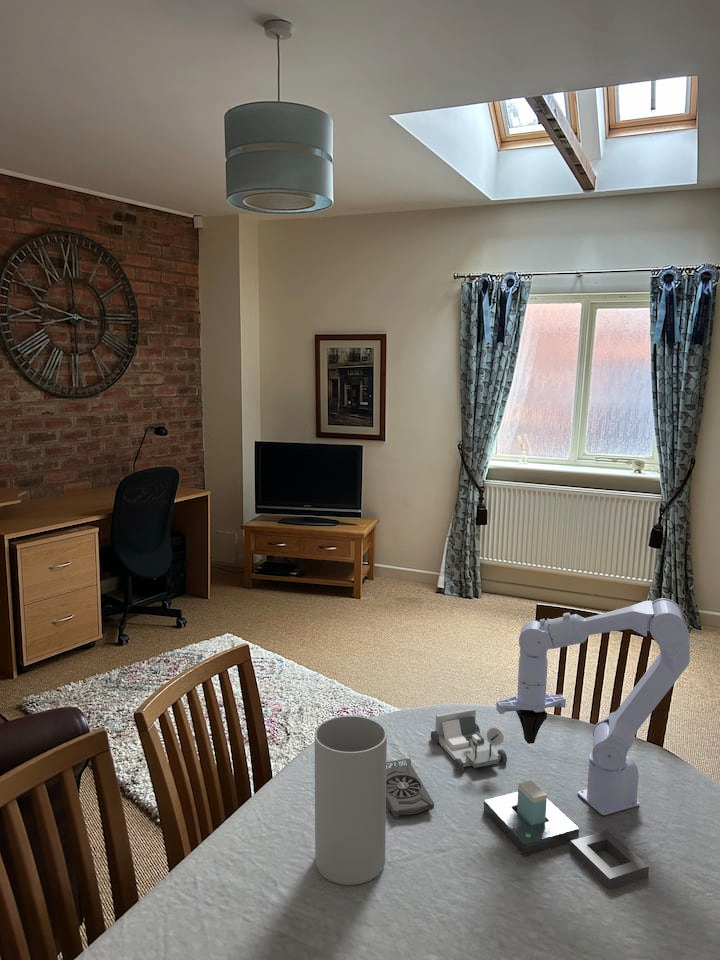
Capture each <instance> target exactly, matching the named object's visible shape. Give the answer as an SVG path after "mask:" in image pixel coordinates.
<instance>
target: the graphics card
mask: <svg viewBox="0 0 720 960" xmlns="http://www.w3.org/2000/svg"><path fill="white" fill-rule="evenodd" d="M408 757H409V758H403V759H396V760H390V761H386V808H387V810H389V811H391V814H392V816H393V817H397V818H398V817H399V816H400V815H401V816H402V815H415V814H416V815H417V814H419V813H421V812H424V811H426V810H430V811H432V810H433V809H434V808H435V802H434V800H433V799H432V797H431V795H430V793H429V792H428V790H427V789H426V787H425V785H424V784H423V782H422V780H421V778H420V777H419V776H418V773H417V772H416V770H415V768H414V767H413V765H412V758H411V756H408ZM391 764H392V765H391Z"/></svg>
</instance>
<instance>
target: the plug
mask: <svg viewBox="0 0 720 960" xmlns="http://www.w3.org/2000/svg"><path fill="white" fill-rule="evenodd" d="M517 785H518V787H517V792H518V803H517V814H518V815H519V816H520V817H521V818H522V819H523V820H524V821H525V822H526V823H527V824H528V825H529V826H530V827H531V826H534V825H538V824H542V823H545V822H546V805H547V799H548V794H547V793H546V792H545V791H544V790H543V789H542V788H541V787H539V786H538V785H537V784H536V783H535V782H534V781H533V780H532V779H531V780H527V781H523V782H520V783H517Z"/></svg>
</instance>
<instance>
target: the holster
mask: <svg viewBox="0 0 720 960" xmlns="http://www.w3.org/2000/svg"><path fill="white" fill-rule="evenodd" d="M603 850H607V851H608V852H609V853H610V855H612V856H613V857H614V858H615V859H616V860H618V861H619V862H620V863H621V864H620V865H616V866H614V867H610V865H609V864H608V863H607V862H605V861H604V860H603V859H602V858H601V857H600V856H599V855H598V854H597V853H596V852H600V851H603ZM569 851H570V852H571V853H572V854H573V855H574V856H575V857H576V858H577V859H578V860H579V861H580V862H581V863H582V864H583V865H584V866H585V867H586V868H587V869H588V870H589V871H590V872H591V873H592V874H593V875H594V876H595V877H596V878H597V879H598V880H599V881H600V882H601V883H602V884H603V885H604V886H605V887H606V888H607V889H608V890H611V889H614V888H616V887H620V886H623V885H626V884H629V883H632V882H636V881H638V880H641V879H645V878H647V877H649V872H650V866H649V865H648V864H647V863H646V862H645V861H644V860H643V859H641V858H640V857H639V856H638V855H637V854H636V853H635V852H634V851H632V849H630V848H629V846H627V845H626V844H625V843H624V842H622V841H621V840H620V839H619V838H618V837H617V836H616V835H614V834H613V832H611V831H610V830H609V829H605V830H602V831H599V832H597V833H593V834H589V835H584V836H581V837H579V838H578V839H575V840H571V842H570V843H569Z"/></svg>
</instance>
